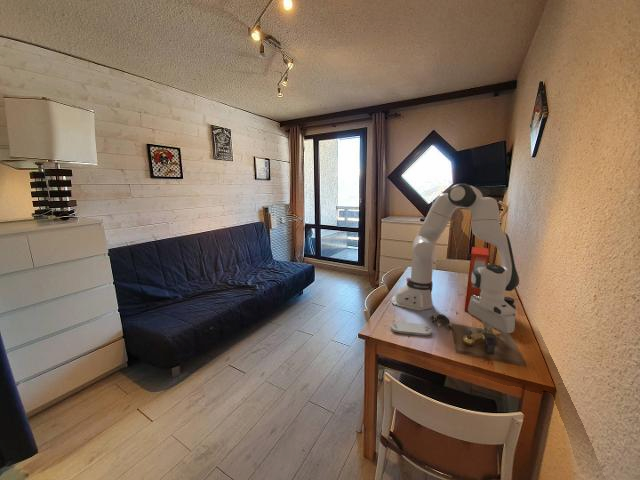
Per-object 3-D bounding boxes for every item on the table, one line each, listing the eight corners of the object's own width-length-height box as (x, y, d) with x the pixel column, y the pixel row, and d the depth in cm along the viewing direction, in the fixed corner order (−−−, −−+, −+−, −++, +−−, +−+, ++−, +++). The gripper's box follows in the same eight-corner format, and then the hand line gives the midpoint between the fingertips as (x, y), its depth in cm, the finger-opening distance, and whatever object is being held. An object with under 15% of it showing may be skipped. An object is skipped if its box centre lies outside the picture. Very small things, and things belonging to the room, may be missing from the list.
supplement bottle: (497, 316, 136) (500, 294, 134) (513, 320, 132) (516, 297, 130) (496, 322, 130) (499, 299, 128) (513, 326, 127) (517, 302, 124)
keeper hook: (484, 352, 104) (485, 340, 103) (481, 343, 110) (482, 332, 109) (496, 355, 103) (497, 342, 102) (492, 345, 109) (494, 334, 108)
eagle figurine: (428, 325, 126) (449, 328, 120) (429, 310, 128) (449, 312, 123) (433, 328, 131) (453, 330, 125) (434, 313, 134) (453, 315, 128)
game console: (391, 328, 121) (390, 320, 129) (391, 333, 122) (390, 324, 130) (433, 333, 117) (430, 324, 125) (432, 338, 118) (429, 328, 126)
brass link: (468, 347, 108) (470, 335, 106) (460, 341, 111) (461, 330, 110) (501, 338, 113) (502, 327, 112) (492, 333, 117) (493, 322, 116)
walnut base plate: (456, 352, 107) (456, 349, 106) (451, 326, 127) (451, 323, 126) (525, 366, 98) (525, 362, 98) (508, 336, 118) (509, 332, 118)
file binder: (481, 302, 153) (488, 248, 146) (481, 314, 138) (489, 255, 132) (465, 299, 157) (471, 246, 150) (464, 311, 142) (470, 253, 136)
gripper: (465, 294, 123) (463, 321, 126) (507, 314, 104) (502, 346, 107) (476, 292, 125) (473, 319, 128) (519, 312, 105) (514, 343, 108)
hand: (487, 331), depth 117 cm, fingers closed
